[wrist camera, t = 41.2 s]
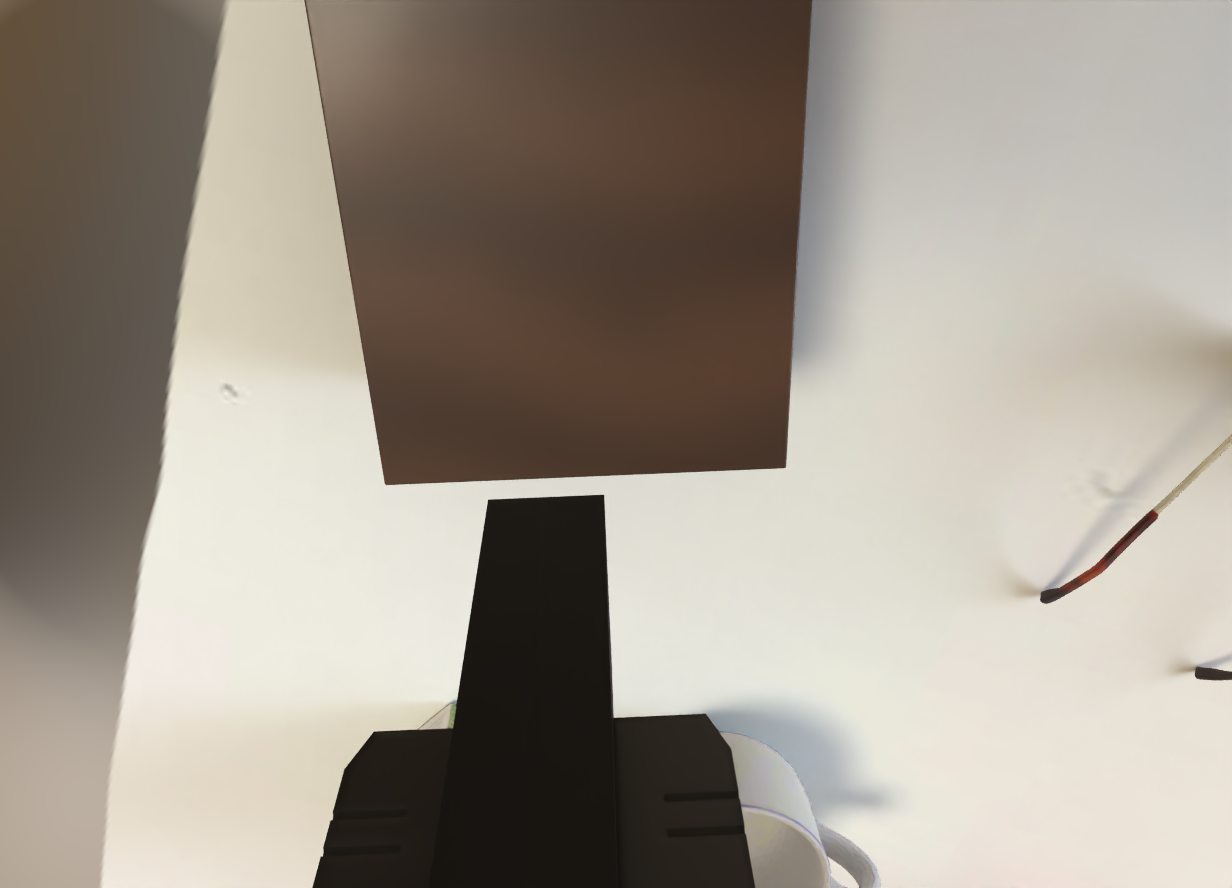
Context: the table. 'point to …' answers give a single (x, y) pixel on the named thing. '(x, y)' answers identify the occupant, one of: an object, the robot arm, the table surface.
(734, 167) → the lid
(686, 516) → the table surface
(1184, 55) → the table surface
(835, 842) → the teacup
